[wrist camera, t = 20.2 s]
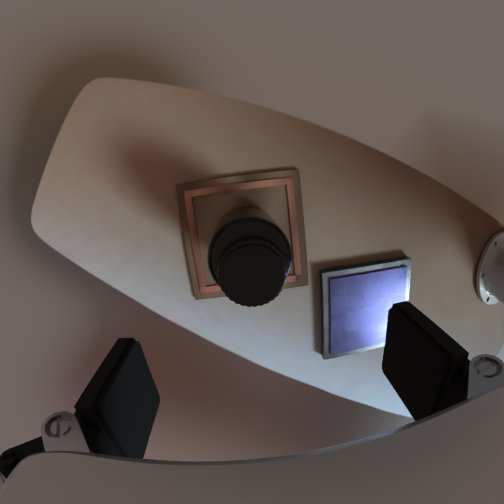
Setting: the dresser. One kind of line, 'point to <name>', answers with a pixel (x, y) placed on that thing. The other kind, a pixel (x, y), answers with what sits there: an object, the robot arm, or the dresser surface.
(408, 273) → the ink pad
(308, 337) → the dresser surface
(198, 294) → the marked board
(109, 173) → the dresser surface
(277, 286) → the supplement bottle
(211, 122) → the dresser surface
